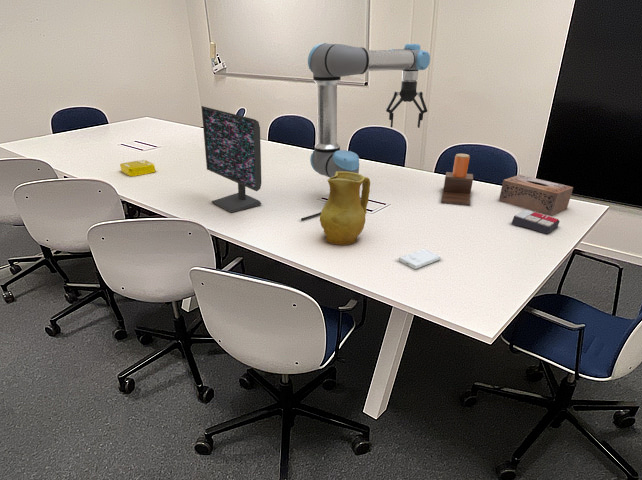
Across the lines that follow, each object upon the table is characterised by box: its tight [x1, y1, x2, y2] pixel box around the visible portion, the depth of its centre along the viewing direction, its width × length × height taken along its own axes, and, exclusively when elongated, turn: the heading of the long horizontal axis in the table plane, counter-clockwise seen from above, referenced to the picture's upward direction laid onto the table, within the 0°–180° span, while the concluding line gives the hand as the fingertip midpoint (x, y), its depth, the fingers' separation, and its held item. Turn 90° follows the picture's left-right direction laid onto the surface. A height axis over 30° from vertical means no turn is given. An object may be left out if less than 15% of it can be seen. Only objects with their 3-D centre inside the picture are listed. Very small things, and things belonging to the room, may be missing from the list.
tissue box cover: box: [498, 174, 574, 217], centre depth 205 cm, size 26×14×10 cm, turn 39°
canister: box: [452, 153, 471, 177], centre depth 216 cm, size 7×7×10 cm
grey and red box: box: [511, 209, 561, 235], centre depth 184 cm, size 11×4×15 cm
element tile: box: [119, 159, 156, 177], centre depth 251 cm, size 15×15×5 cm
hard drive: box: [398, 248, 442, 270], centre depth 157 cm, size 2×8×12 cm
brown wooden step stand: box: [440, 171, 474, 207], centre depth 215 cm, size 24×13×8 cm, turn 164°
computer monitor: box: [201, 105, 262, 214], centre depth 196 cm, size 44×16×40 cm, turn 40°
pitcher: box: [319, 171, 371, 246], centre depth 167 cm, size 17×19×25 cm
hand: (404, 127), depth 226 cm, fingers open, 13 cm apart
